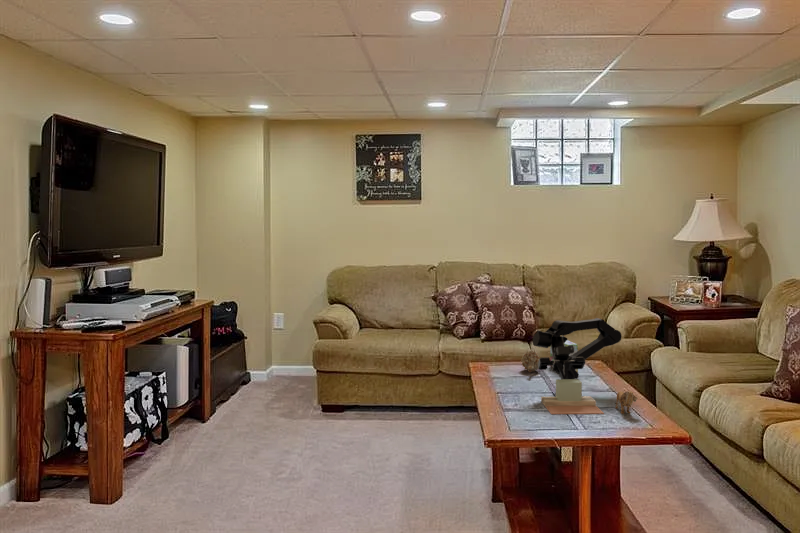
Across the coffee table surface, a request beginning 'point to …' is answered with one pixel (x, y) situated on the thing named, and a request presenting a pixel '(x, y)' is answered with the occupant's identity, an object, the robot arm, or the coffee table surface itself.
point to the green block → (568, 390)
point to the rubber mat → (574, 410)
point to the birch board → (568, 402)
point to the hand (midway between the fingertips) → (565, 380)
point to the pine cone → (530, 361)
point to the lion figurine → (625, 400)
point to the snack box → (570, 353)
